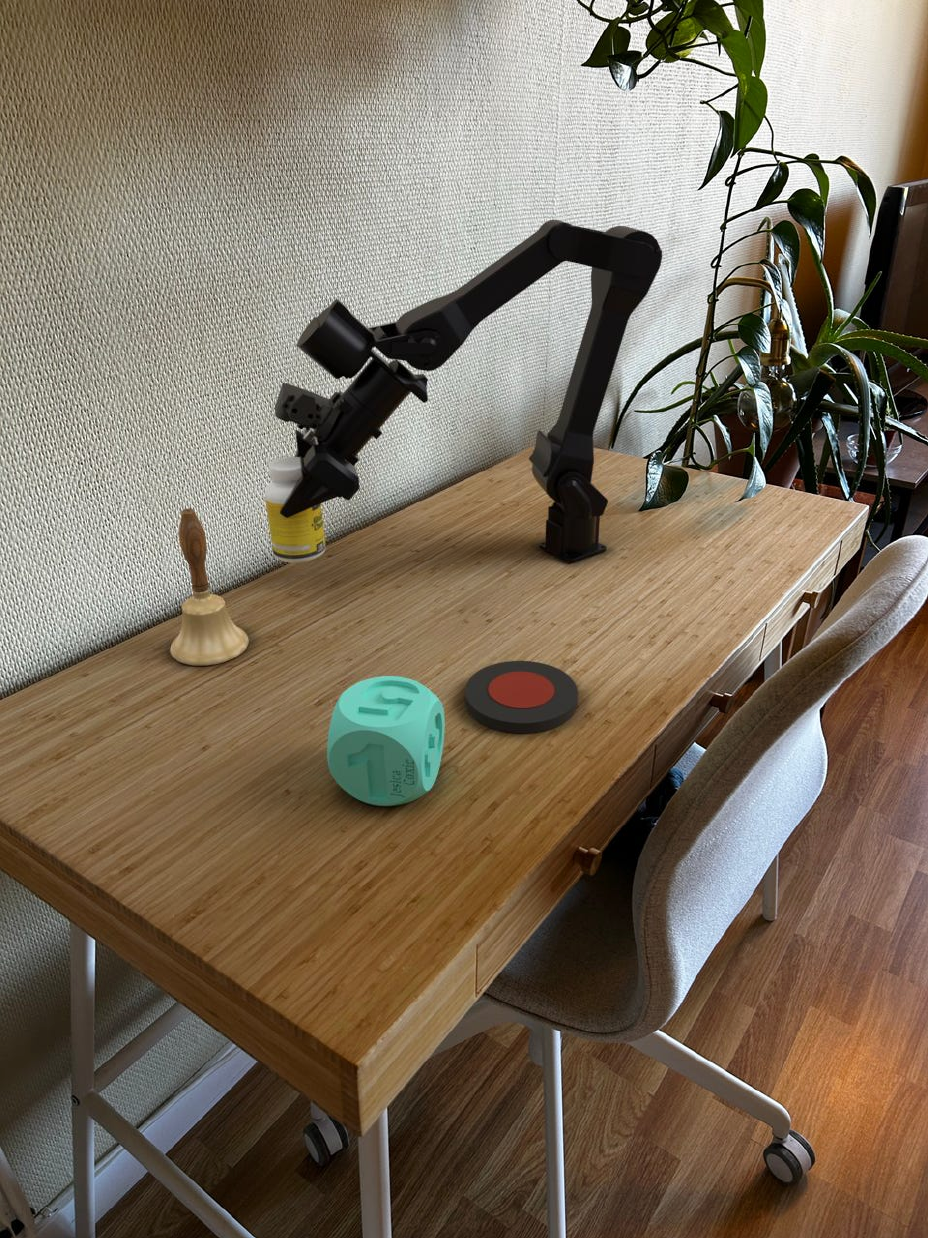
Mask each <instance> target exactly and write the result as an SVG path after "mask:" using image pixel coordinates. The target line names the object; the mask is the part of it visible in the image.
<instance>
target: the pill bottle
mask: <svg viewBox="0 0 928 1238" xmlns="http://www.w3.org/2000/svg"><path fill="white" fill-rule="evenodd" d="M301 473H302V472H301V464H300V457H294V456H285V457H280V458H277V459H273V460H272V461H270V462H269V463H268V475H269V478H270V479H271V480H272V481H270V482H269V483H268V484H267V486H266V487H265V489H264V500H265V507H266V513H267V521H268V527H269V534H270V541H271V548H272V549H271V550H272V554H273V556H274V557H275V558H276V559H277V560H278V561H281V562H285V563H288V564H289V563H291V564H299V563H300V564H301V563H307V562H310V561H314V560H316V559H318V558H320V557H321V556H322V555H323V554H324V553H325V551H326V547H327V545H326V537H325V527H324V519H323V510H322V509H323V508H322V503H321V504H318V505H316V506H313V507H311V508H309V509H306V510H304V511H302V512H300V513H297V514H295V515H293V516H291V517H288V518H286V517H284V516H283V515H281V514H280V510H281V508H282V506H283V505H284V503H285V501H286V499H287V498H288V496H289V495H290V493H291V491H292V490H293V488H294V486H295V485H296V483H297V481H298V480H299V478H300V477H301Z"/></svg>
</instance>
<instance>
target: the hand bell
mask: <svg viewBox="0 0 928 1238" xmlns="http://www.w3.org/2000/svg"><path fill="white" fill-rule="evenodd" d="M180 514H181V515H180V522H179V528H178V540H179V545H180V549H181V552H182V554H183V557H184V559H185V561H186V562H187V565H188V567H189V571H190V572H189V573H190V579H191V589H192V594H193V595H192V596H191V597H189V598H187V599H186V600H184V601H183V603H182V605H181V615H182V617H181V627H180V631H179V634H178V635H177V636H176V637H175V638H174V639H173V641H172V643H171V646H170V651H169V652H170V655H171V657H172V658H173V659H174V660H176V661H177V662H179V663H181V664H184V665H188V666H196V667H197V666H198V667H200V666H201V667H203V666H214V665H215V666H216V665H218V664H222V663H227V662H229V661H231V660H232V659H235V658H236V657H238V656H240V655H242V654H243V653H244V652H245V651H246V650H247V648H248V646H249V643H250V639H249V636H248V634H247V633H246V632H245V631H244V630H243V629H242V628H240V627H238V626H237V625H236V624H235V623H234V622H233V620H232V619H231V617H230V614H229V612H228V609H227V605H226V602H225V599H224V598H223V597H221V596H220V595H218V594H215V593H211V590H210V584H209V580H208V576H207V570H206V557H207V538H206V533H205V529H204V527H203V524H202V523H201V521H200V520H199V517H198V515H197V513H196V511H195V509H194V508H190V507H189V508H184V509H182V510H181V513H180Z"/></svg>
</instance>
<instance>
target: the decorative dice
mask: <svg viewBox="0 0 928 1238" xmlns="http://www.w3.org/2000/svg"><path fill="white" fill-rule="evenodd" d="M445 725H446V724H445V709H444V705H443V703H442V701H441V700H440V699H439V697H438V696H437V695H436V694H435V693H434V692H433V691H432V690H431V689H430V688H428V687H426V685H424V684H422V683H421V682H419V681H417V680H415V679H412V678H408V677H404V676H398V675H397V676H395V675H382V676H375V677H369V678H366V679H363V680H361V681H359V682H356V683H354V684H352V685H351V686H349V687H348V688H347V689H346V690H344V691H343V692H342V693H341V694H340V696H339V697H338V699H337V702H336V704H335V706H334V708H333V711H332V714H331V718H330V722H329V726H328V727H329V728H328V732H327V733H328V734H327V744H326V745H327V746H326V757H327V759H326V760H327V767H328V770H329V773H330V775H331V776H332V778H333V779H334V781H335V782H336V783H337V784H338V785H339V787H340V788H342V790H343V791H344V792H346V793H347V794H348V795H350V796H351V797H353V798H355V799H357V800H358V801H361V802H362V803H366V804H369V805H373V806H378V807H393V806H400V805H405V804H408V803H411V802H413V801H416V800H417V799H419V798H421V797H422V796H424V795H426V793H428V792H429V791H430V790H431V789H432V788H433V786H434V784H435V782H436V780H437V778H438V773H439V770H440V767H441V763H442V762H441V761H442V756H443V750H444V741H445V728H446V727H445Z"/></svg>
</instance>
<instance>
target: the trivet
mask: <svg viewBox="0 0 928 1238" xmlns="http://www.w3.org/2000/svg"><path fill="white" fill-rule="evenodd" d="M578 702H579V689H578V686H577V684H576V682H575V680H574V679H573V678H572V677H571V676H570V675H569V674H567V673H566V672H565V671H563V670H562V669H560V668H557V667H555V666H552V665H550V664H546V663H543V662H538V661H532V660H508V661H502V662H497V663H493V664H490V665H488V666H485V667H482V668H481V669H479V670H477V671H476V672H475V673H474V674H472V675H471V676H470V677H469V678H468V680H467V682H466V684H465V687H464V706H465V708H466V710H467V711H468V713H469V715H470V716H471V717H472V718H473V719H474V720H475V721H476V722H478V723H480V724H482V725H483V726H485V727H488V728H490V729H493V730H496V731H500V732H505V733H509V734H510V733H511V734H534V733H535V734H536V733H542V732H546V731H550V730H553V729H556V728H558V727H560V726H562V725H563V724H566V722H568V721H569V720H570V719H571V718H572V717H573V716H574V714H575V713H576V711H577V709H578V705H579V704H578Z"/></svg>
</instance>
